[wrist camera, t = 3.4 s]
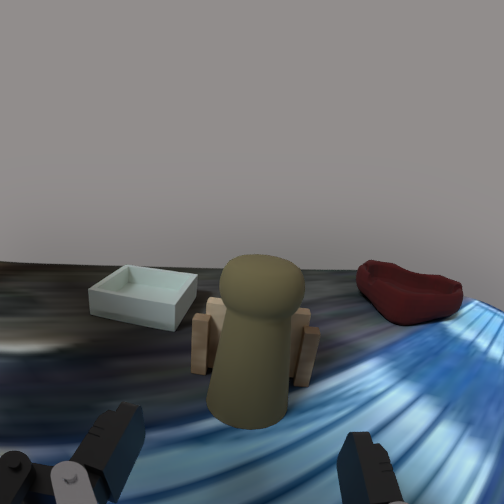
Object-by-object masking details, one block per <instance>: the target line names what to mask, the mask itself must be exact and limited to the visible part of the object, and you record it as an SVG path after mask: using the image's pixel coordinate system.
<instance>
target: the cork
mask: <svg viewBox="0 0 504 504" xmlns="http://www.w3.org/2000/svg"><path fill="white" fill-rule="evenodd" d="M219 289H220V295H221V299H222V301H223V303H224V305H225V306H226V308H227V309H226V314H225V318H224V322H223V327H222V331H221V335H220V340H219V344H218V349H217V353H216V357H215V362H214V366H213V371H212V375H211V380H210V384H209V389H208V393H207V398H206V402H207V407H208V409H209V411H210V412H211V413H212V415H213V416H214V417H215V418H217V419H218V420H220V421H221V422H223V423H224V424H227V425H230V426H232V427H235V428H241V429H249V430H253V429H262V428H266V427H269V426H272V425H274V424H276V423H277V422H279V421H280V420H281V419H282V418H283V417H284V416H285V414H286V411H287V407H288V388H289V367H290V342H291V316H292V315H293V314H294V313H295V312H296V311H297V310H298V308H299V307H300V305H301V303H302V300H303V298H304V293H305V281H304V277H303V275H302V272H301V270H300V268H298V267H297V266H296V265H294V264H293V263H292V262H290V261H288V260H285V259H282V258H278V257H274V256H270V255H259V254H255V255H242V256H238V257H236V258H234V259H232V260H230V261H229V262H228V263H227V265H226V266H225V267H224V269H223V271H222V274H221V277H220V285H219Z"/></svg>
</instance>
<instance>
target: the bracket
mask: <svg viewBox="0 0 504 504" xmlns="http://www.w3.org/2000/svg"><path fill="white" fill-rule="evenodd" d="M226 309H227V308H226V306H225V305H224V303H223V301H222V299H220V298H213V297H209V299H208V301H207V305H206V314H200V313H196V314H195V316H194V317H193V319H192V348H191V373H194V374H200V375H206V372H207V369H208V368H213V366H214V362H215V357H216V353H217V349H218V344H219V340H220V335H221V331H222V327H223V322H224V318H225V314H226ZM310 317H311V314H310V310H309V309H305V308H298V310H297V311H296V312H295V313H294V314H293V315H292V316H291V342H290V367H289V377H292V378H293V384H294V386H301V387H308V385H309V382H310V378H311V374H312V369H313V365H314V361H315V357H316V353H317V348H318V344H319V340H320V335H321V334H320V331H319V328H318V327H309V322H310Z"/></svg>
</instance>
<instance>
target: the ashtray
mask: <svg viewBox="0 0 504 504" xmlns="http://www.w3.org/2000/svg"><path fill="white" fill-rule="evenodd" d="M356 282H357V287H358V288H359V290H360V291H361V292H362V293H363V294H364V295H365V296H366V297H367V298H368V299H369V300H370V301H371V302H372V304H373V305H374V306H375V307H376V308H377V310H378V311H379V312H380V313H381V314H382V315H383V316H384V317H385V318H386V319H387V320H389V321H390V322H392V323H394V324H397V325H412V324H417V323H421V322H425V321H429V320H432V319H436V318H441V317H447V316H450V315H452V314H454V313H456V312H457V311H458V309H459V308H460V306H461V304H462V301H463V291H462V285H461V283H459V282H457V281H454V280H451V279H448V278H446V277H443V276H441V275H427V274H419V273H414V272H411V271H408V270H406V269H403V268H401V267H400V266H397V265H396V264H393V263H387V262H380V261H374V260H368V261H367V262H365V263H364V264H363V265H361V266H359V268H358V271H357V274H356Z"/></svg>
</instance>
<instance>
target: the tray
mask: <svg viewBox="0 0 504 504" xmlns="http://www.w3.org/2000/svg"><path fill="white" fill-rule="evenodd" d="M197 277H198V275H197V274H190V273H182V272H175V271H168V270H161V269H154V268H147V267H140V266H133V265H124V266H123V267H121V268H120V269H118V270H117V271H115V272H114V273H112V274H110V275H109V276H107V277H106V278H104V279H103V280H101V281H100V282H98V283H97V284H95V285H94V286H92V287H91V288H89V289H88V294H89V307H90V315H94V316H99V317H103V318H108V319H112V320H117V321H121V322H126V323H131V324H136V325H141V326H146V327H151V328H156V329H161V330H167V331H173V332H175V331H176V329H177V327H178V326H179V324H180V322H181V321H182V319H183V317H184V316H185V314H186V313H187V311H188V309H189V308H190V306H191V305H192V303H193V301H194V300H195V298H196V295H197Z"/></svg>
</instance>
